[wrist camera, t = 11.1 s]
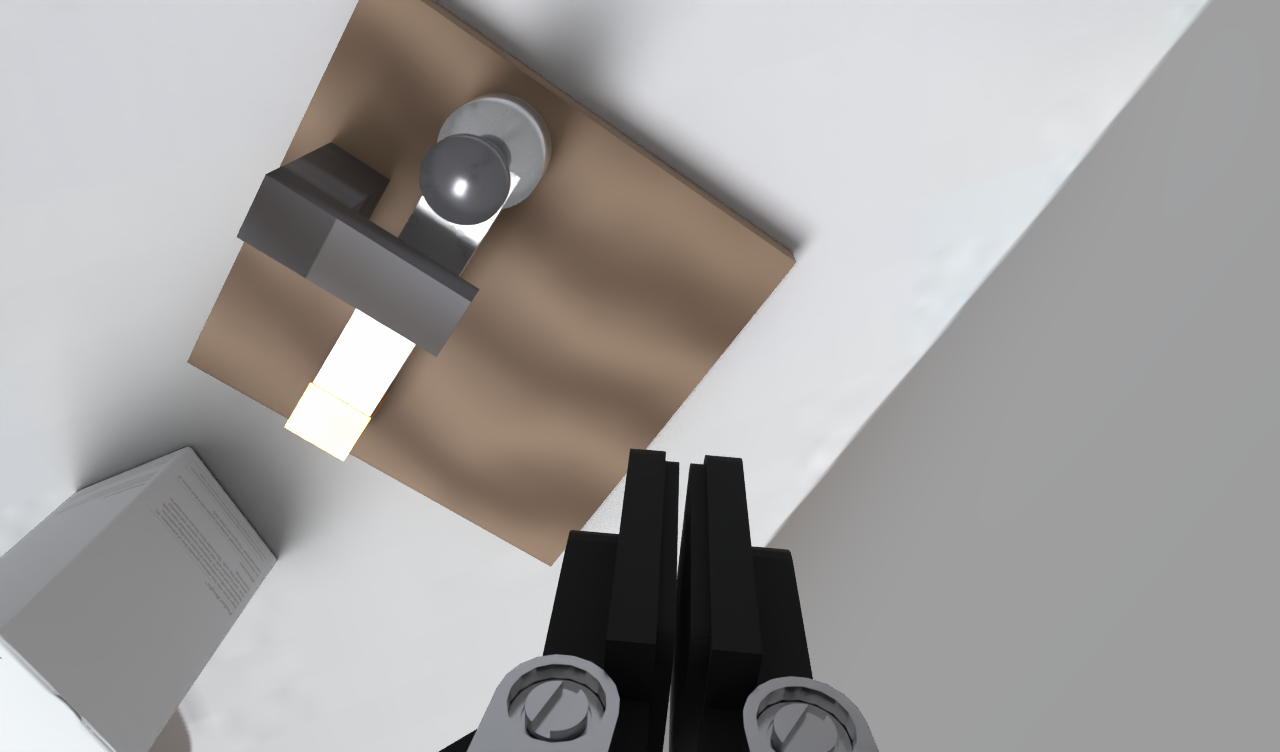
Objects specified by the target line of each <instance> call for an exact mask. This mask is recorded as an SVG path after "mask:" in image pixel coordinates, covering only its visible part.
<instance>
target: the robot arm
mask: <svg viewBox="0 0 1280 752" xmlns="http://www.w3.org/2000/svg"><path fill="white" fill-rule="evenodd" d="M665 458H666V452H665V451H654V450H643V449H632V448H630V453H629V461H628V469H627V477H626V485H625V492H624V500H623V508H622V516H621V524H620V532H619V534H610V533H599V532H588V531H577V530H570V532H569V536H568V540H567V545H566V549H565V554H564V559H563V563H562V568H561V573H560V577H559V582H558V587H557V591H556V596H555V601H554V605H553V610H552V615H551V619H550V624H549V629H548V633H547V638H546V643H545V647H544V652H543V656H541V657H536V658H533V659H531V660H528V661H526V662H524V663H521V664H519V665H518V666H517V667H515V668H514V669H513V670H511V671H510V672H509V673H507V674H506V675H505V677H504V678H503V680H502V681H501V683H500V684H499V685H498V687H497V688H496V691H495V693H494V695H493V697H492V699H491V701H490V703H489V705H488V708H487V710H486V712H485V714H484V716H483V718H482V720H481V722H480V725H479V727H478V729H476V730H475V731H473V732H471V733H469V734H468V735H466V736H464V737H463V738H461V739H459V740H458V741H456V742H454V743H452V744H451V745H449V746H447V747H446V748H444V749H442V750H441V751H439V752H662V751H663V743H664V735H665V726H666V718H667V710H668V702H669V693H670V685H671V696H670V730H669V752H879V750H878V748H877V745H876V743H875V741H874V738H873V736H872V733H871V731H870V728H869V726H868V724H867V722H866V720H865V718H864V717H863V715H862V714H861V712H860V710H859V708H858V707H857V706H856V705H855V704H854V703H853V702H852V701H851V700H850V699H849V698H847V697H846V696H845V695H844V694H843V693H841V692H839V691H838V690H836V689H834V688H833V687H831V686H829V685H828V684H825V683H822V682H819V681H816V680H813V677H812V671H811V666H810V659H809V654H808V648H807V642H806V636H805V631H804V624H803V618H802V613H801V607H800V601H799V595H798V590H797V583H796V577H795V572H794V566H793V560H792V556H791V552H790V551H789V550H785V549H774V548H763V547H752V546H751V539H750V529H749V519H748V510H747V500H746V491H745V481H744V471H743V462H742V459H741V458H732V457H721V456H710V455H705V459H704V465H703V464H692V463H691V464H690V469H689V477H688V486H687V495H686V504H685V512H684V521H683V530H682V539H681V547H680V556H679V565H678V573H677V540H678V496H679V462H670V461H665Z"/></svg>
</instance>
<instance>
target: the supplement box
mask: <svg viewBox="0 0 1280 752" xmlns="http://www.w3.org/2000/svg"><path fill="white" fill-rule="evenodd" d="M276 561H277V560H276V558H275V556H274V555H273V554H272V552H271V551H270V550H269V548H268V547H267V546H266V545H265V543H264V542H263V541H262V539H261V538H260V537H259V536H258V534H257V533H256V532H255V530H254V529H253V528H252V526H251V525H250V524H249V522H248V521H247V520H246V519H245V517H244V516H243V515H242V513H241V512H240V511H239V509H238V508H237V507H236V505H235V504H234V503H233V502H232V500H231V499H230V498H229V496H228V495H227V494H226V493H225V491H224V490H223V489H222V487H221V486H220V485H219V483H218V482H217V481H216V480H215V478H214V477H213V476H212V474H211V473H210V472H209V470H208V469H207V468H206V466H205V465H204V464H203V463H202V461H201V460H200V459H199V457H198V456H197V455H196V453H195V452H194V451H193V449H192V448H191V447H185V448H183V449H180V450H177V451H175V452H173V453H170V454H168V455H165V456H163V457H160V458H158V459H155V460H153V461H150V462H148V463H146V464H143V465H141V466H138V467H136V468H133V469H131V470H128V471H126V472H123V473H121V474H118V475H116V476H113V477H111V478H109V479H106V480H104V481H101V482H99V483H96V484H94V485H91V486H89V487H86V488H84V489H82V490H80V491H78V492H76V493H74V494H73V495H72V496H71V497H69V498H68V499H67V500H66V501H65V502H63V503H62V504H61V505H60V506H59V507H58V508H57V509H56V510H54V511H53V512H52V513H51V514H50V515H49V516H47V517H46V518H45V519H44V520H43V521H42V522H41V523H39V524H38V525H37V526H36V527H35V528H34V529H33V530H31V531H30V532H29V533H28V534H27V535H26V536H25V537H23V538H22V539H21V540H20V541H19V542H18V543H17V544H16V545H14V546H13V547H12V548H11V549H10V550H9V551H8V552H6V553H5V554H4V555H3V556H2V557H1V558H0V752H148V750H149V749H150V747H151V745H152V744H153V743H154V741H155V740H156V738H157V737H158V735H159V734H160V732H161V731H162V729H163V728H164V726H165V725H166V723H167V721H168V720H169V719H170V717H171V716H172V714H173V713H174V712H175V710H176V709H177V707H178V706H179V704H180V703H181V701H182V700H183V698H184V697H185V695H186V694H187V692H188V691H189V689H190V688H191V686H192V685H193V683H194V682H195V680H196V679H197V678H198V676H199V675H200V673H201V672H202V670H203V669H204V667H205V666H206V664H207V663H208V661H209V660H210V658H211V657H212V655H213V654H214V652H215V651H216V649H217V648H218V646H219V645H220V643H221V642H222V640H223V639H224V638H225V636H226V635H227V633H228V632H229V630H230V629H231V627H232V626H233V624H234V623H235V621H236V620H237V619H238V617H239V616H240V614H241V613H242V611H243V610H244V608H245V607H246V605H247V604H248V602H249V601H250V599H251V598H252V597H253V595H254V594H255V592H256V591H257V589H258V588H259V586H260V585H261V583H262V582H263V580H264V579H265V577H266V576H267V574H268V573H269V572H270V570H271V569H272V567H273V566H274V565H275V563H276Z"/></svg>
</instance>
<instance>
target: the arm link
mask: <svg viewBox="0 0 1280 752" xmlns="http://www.w3.org/2000/svg"><path fill="white" fill-rule="evenodd" d="M551 153H552V142H551V136H550V133H549V129H548V127H547V125H546V123H545V121H544V119H543V117H542V116H541V115H540V113H539V112H538V111H537V110H536V109H535V108H534V107H533V106H532V105H531V104H529V103H528V102H527V101H525V100H523V99H522V98H519V97H517V96H515V95H511V94H507V93H488V94H484V95H481V96H479V97H477V98H475V99H473V100H472V101H470V102H468V103H467V104H465V105H464V106H462V107H460V108H459V109H457V110H456V111H455V112H453V113H452V114H451V115H450V116H449V117H448V118H447V120H446V121H445V123H444V124H443V126H442V128H441V130H440V133H439V136H438V140H437V143H436V144H435V145H434V146H433V147H431V148H430V149H429V151H428V152H427V153H426V154H425V156H424V158H423V160H422V162H421V165H420V170H419V185H420V189H421V192H422V195H423V196H422V197H421V199H420V201H419V203H418V204H417V206H416V208H415V209H414V211H413V213H412V215H411V216H410V218H409V220H408V221H407V223H406V225H405V227H404V228H403V230H402V232H401V233H400V235H399V237H398V238H399V239H400V240H402V241H403V242H405V243H407V244H408V245H410V246H411V247H413V248H415V249H416V250H418V251H419V252H421V253H423V254H424V255H426V256H427V257H429V258H430V259H432V260H434V261H435V262H437V263H438V264H440V265H442V266H443V267H445V268H446V269H448V270H450V271H451V272H453V273H454V274H456V275H458V276H459V277H460V276H461V274H462V273H463V271H464V270H465V268H466V267H467V265H468V263H469V262H470V260H471V259H472V257H473V256H474V254H475V252H476V251H477V249H478V248H479V246H480V245H481V243H482V241H483V240H484V238H485V237H486V235H487V233H488V232H489V230H490V229H491V227H492V226H493V224H494V222H495V221H496V219H497V218H498V216H499V215H500V213H501V211H502V210H503V209H505V208H509V207H512V206H514V205H516V204H518V203H520V202H522V201H523V200H524V199H526V198H527V197H528V196H529V195H530V194H531V192H532V191H533V190H534V188H535V187H536V186H537V184H538V183H539V181H540V180H541V178H542V177H543V176H544V174H545V172H546V170H547V168H548V166H549V163H550V159H551ZM415 347H416V345H415V344H414V343H412V342H410V341H409V340H407V339H405V338H404V337H402V336H400V335H399V334H397V333H395V332H394V331H392V330H390V329H389V328H387V327H385V326H384V325H382V324H380V323H379V322H377V321H375V320H374V319H372V318H370V317H369V316H367V315H365V314H364V313H362V312H360V311H359V310H357V309H356V310H355V312H354V314H353V315H352V317H351V319H350V321H349V322H348V324H347V326H346V327H345V329H344V331H343V333H342V334H341V336H340V338H339V339H338V341H337V343H336V345H335V346H334V348H333V350H332V351H331V353H330V355H329V357H328V358H327V360H326V362H325V363H324V365H323V367H322V368H321V370H320V372H319V374H318V375H317V376H316V377H315V378H314V379H313V380H312V381H311V383H310V384H309V386H308V388H307V390H306V391H305V393H304V395H303V396H302V398H301V400H300V402H299V403H298V405H297V407H296V408H295V410H294V412H293V414H292V415H291V417H290V419H289V420H288V422H287V424H286V426H285V428H287V429H289V430H290V431H292V432H294V433H296V434H297V435H299V436H301V437H302V438H304V439H306V440H308V441H309V442H311V443H313V444H315V445H316V446H318V447H320V448H322V449H323V450H325V451H327V452H329V453H330V454H332V455H334V456H336V457H337V458H339V459H341V460H343V461H344V460H345V458H346V457H347V455H348V454H349V453H350V451H351V450H352V448H353V447H354V445H355V444H356V443H357V441H358V440H359V438H360V437H361V435H362V434H363V432H364V431H365V429H366V428H367V426H368V425H369V423H370V421H371V420H372V418H373V417H374V415H375V414H376V412H377V410H378V409H379V407H380V406H381V404H382V403H383V401H384V399H385V398H386V396H387V395H388V393H387V391H388V389H389V388H390V386H391V385H392V383H393V381H394V380H395V378H396V377H397V375H398V374H399V372H400V370H401V369H402V367H403V366H404V364H405V363H406V361H407V359H408V358H409V356H410V355H411V353H412V352H413V350H414V348H415Z"/></svg>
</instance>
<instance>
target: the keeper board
mask: <svg viewBox="0 0 1280 752" xmlns="http://www.w3.org/2000/svg"><path fill="white" fill-rule="evenodd" d="M488 93H507V94H511V95H515V96H517V97H519V98H522V99H523V100H525V101H527V102H528V103H529V104H531V105H532V106H533V107H534V108H535V109H536V110H537V111H538V112H539V113H540V115H541V116H542V117H543V119H544V121H545V123H546V125H547V127H548V129H549V133H550V136H551V142H552V153H551V159H550V163H549V166H548V168H547V170H546V172H545V174H544V176H543V177H542V178H541V180H540V181H539V183H538V184H537V186H536V187H535V188H534V190H533V191H532V192H531V194H530V195H529V196H528V197H527V198H526V199H524V200H523V201H522V202H520V203H518V204H516V205H514V206H512V207H509V208H505V209H503V210H502V211H501V213H500V215H499V216H498V218H497V219H496V221H495V222H494V224H493V226H492V227H491V229H490V230H489V232H488V233H487V235H486V237H485V238H484V240H483V241H482V243H481V245H480V246H479V248H478V249H477V251H476V252H475V254H474V256H473V257H472V259H471V260H470V262H469V263H468V265H467V267H466V268H465V270H464V271H463V273H462V274H461V276H460V277H459V276H458V275H456V274H454V273H453V272H451V271H450V270H448V269H446V268H445V267H443V266H442V265H440V264H438V263H437V262H435V261H434V260H432V259H430V258H429V257H427V256H426V255H424V254H423V253H421V252H419V251H418V250H416V249H415V248H413V247H411V246H410V245H408V244H407V243H405V242H403V241H402V240H400V239H399V238H398V237H399V235H400V233H401V232H402V230H403V228H404V227H405V225H406V223H407V221H408V220H409V218H410V216H411V215H412V213H413V211H414V209H415V208H416V206H417V204H418V203H419V201H420V199H421V197H422V196H423V195H422V192H421V189H420V185H419V170H420V165H421V162H422V160H423V158H424V156H425V154H426V153H427V152H428V151H429V149H430V148H431V147H433V146H434V145H435V144H436V143H437V140H438V136H439V133H440V130H441V128H442V126H443V124H444V123H445V121H446V120H447V118H448V117H449V116H450V115H451V114H452V113H453V112H455V111H456V110H457V109H459V108H460V107H462V106H464V105H465V104H467V103H468V102H470V101H472V100H473V99H475V98H477V97H479V96H481V95H484V94H488ZM237 237H238V238H239V239H241V240H242V241H244V243H243V246H242V248H241V250H240V252H239V254H238V256H237V258H236V260H235V262H234V265H233V267H232V269H231V271H230V273H229V275H228V277H227V279H226V281H225V283H224V286H223V288H222V290H221V292H220V294H219V296H218V298H217V300H216V302H215V305H214V307H213V309H212V311H211V313H210V315H209V317H208V319H207V321H206V323H205V326H204V328H203V330H202V332H201V334H200V336H199V338H198V340H197V342H196V345H195V347H194V349H193V351H192V353H191V355H190V357H189V359H188V361H187V362H188V363H189V364H191V365H193V366H195V367H197V368H198V369H200V370H202V371H204V372H205V373H207V374H209V375H211V376H213V377H214V378H216V379H218V380H220V381H221V382H223V383H225V384H227V385H229V386H230V387H232V388H234V389H236V390H238V391H239V392H241V393H243V394H245V395H246V396H248V397H250V398H252V399H254V400H255V401H257V402H259V403H261V404H262V405H264V406H266V407H268V408H270V409H271V410H273V411H275V412H277V413H278V414H280V415H282V416H284V417H286V418H287V419H290V417H291V415H292V414H293V412H294V410H295V408H296V407H297V405H298V403H299V402H300V400H301V398H302V396H303V395H304V393H305V391H306V390H307V388H308V386H309V384H310V383H311V381H312V380H313V379H314V378H315V377H316V376H317V375H318V374H319V372H320V370H321V368H322V367H323V365H324V363H325V362H326V360H327V358H328V357H329V355H330V353H331V351H332V350H333V348H334V346H335V345H336V343H337V341H338V339H339V338H340V336H341V334H342V333H343V331H344V329H345V327H346V326H347V324H348V322H349V321H350V319H351V317H352V315H353V314H354V312H355V310H356V309H357V310H359V311H360V312H362V313H364V314H365V315H367V316H369V317H370V318H372V319H374V320H375V321H377V322H379V323H380V324H382V325H384V326H385V327H387V328H389V329H390V330H392V331H394V332H395V333H397V334H399V335H400V336H402V337H404V338H405V339H407V340H409V341H410V342H412V343H414V344H415V345H416V347H415V348H414V350H413V352H412V353H411V355H410V356H409V358H408V359H407V361H406V363H405V364H404V366H403V367H402V369H401V370H400V372H399V374H398V375H397V377H396V378H395V380H394V381H393V383H392V385H391V386H390V388H389V389H388V391H387V393H388V395H387V396H386V398H385V399H384V401H383V403H382V404H381V406H380V407H379V409H378V410H377V412H376V414H375V415H374V417H373V418H372V420H371V421H370V423H369V425H368V426H367V428H366V429H365V431H364V432H363V434H362V435H361V437H360V438H359V440H358V441H357V443H356V444H355V445H354V447H353V448H352V450H351V451H350V454H351V455H353V456H355V457H357V458H359V459H360V460H362V461H364V462H366V463H367V464H369V465H371V466H373V467H375V468H376V469H378V470H380V471H382V472H383V473H385V474H387V475H389V476H391V477H392V478H394V479H396V480H398V481H399V482H401V483H403V484H405V485H407V486H408V487H410V488H412V489H414V490H415V491H417V492H419V493H421V494H423V495H424V496H426V497H428V498H430V499H432V500H433V501H435V502H437V503H439V504H440V505H442V506H444V507H446V508H448V509H449V510H451V511H453V512H455V513H456V514H458V515H460V516H462V517H464V518H465V519H467V520H469V521H471V522H472V523H474V524H476V525H478V526H480V527H481V528H483V529H485V530H487V531H488V532H490V533H492V534H494V535H496V536H497V537H499V538H501V539H503V540H504V541H506V542H508V543H510V544H512V545H513V546H515V547H517V548H519V549H521V550H522V551H524V552H526V553H528V554H529V555H531V556H533V557H535V558H537V559H538V560H540V561H542V562H544V563H545V564H547V565H549V566H552V565H553V563H554V562H555V561H556V560H557V558H558V557H559V556H560V555H561V553H562V552H563V551H564V550H565V548H566V545H567V540H568V536H569V532H570V530H577V531H580V530H581V529H582V527H583V526H584V525H585V524H586V522H587V521H588V520H589V519H590V517H591V516H592V515H593V514H594V512H595V511H596V510H597V509H598V508H599V506H600V505H601V504H602V503H603V501H604V500H605V499H606V498H607V496H608V495H609V494H610V493H611V491H612V490H613V489H614V488H615V486H616V485H617V484H618V483H619V481H620V480H621V479H622V478H623V476H624V475H625V474H626V473H627V469H628V461H629V453H630V448H632V449H643V450H645V449H646V448H647V447H648V445H649V444H650V443H651V442H652V441H653V439H654V438H655V437H656V436H657V434H658V433H659V432H660V431H661V429H662V428H663V427H664V426H665V424H666V423H667V422H668V421H669V419H670V418H671V417H672V416H673V414H674V413H675V412H676V411H677V409H678V408H679V407H680V406H681V405H682V403H683V402H684V401H685V400H686V398H687V397H688V396H689V395H690V393H691V392H692V391H693V390H694V388H695V387H696V386H697V385H698V383H699V382H700V381H701V380H702V378H703V377H704V376H705V375H706V374H707V372H708V371H709V370H710V369H711V367H712V366H713V365H714V364H715V362H716V361H717V360H718V359H719V357H720V356H721V355H722V354H723V352H724V351H725V350H726V349H727V347H728V346H729V345H730V344H731V342H732V341H733V340H734V339H735V338H736V336H737V335H738V334H739V333H740V331H741V330H742V329H743V328H744V326H745V325H746V324H747V323H748V321H749V320H750V319H751V318H752V316H753V315H754V314H755V313H756V311H757V310H758V309H759V308H760V307H761V305H762V304H763V303H764V302H765V300H766V299H767V298H768V297H769V295H770V294H771V293H772V292H773V290H774V289H775V288H776V287H777V285H778V284H779V283H780V282H781V280H782V279H783V278H784V277H785V275H786V274H787V273H788V272H789V271H790V269H791V268H792V267H793V266H794V264H795V263H796V261H795V258H794V255H793V252H791V251H790V250H788V249H787V248H785V247H784V246H783V245H781V244H780V243H778V242H777V241H775V240H774V239H773V238H771V237H770V236H768V235H767V234H765V233H764V232H763V231H761V230H760V229H758V228H757V227H755V226H754V225H753V224H751V223H750V222H748V221H747V220H745V219H744V218H743V217H741V216H740V215H738V214H737V213H735V212H734V211H733V210H731V209H730V208H728V207H727V206H725V205H724V204H723V203H721V202H720V201H718V200H717V199H715V198H714V197H713V196H711V195H710V194H708V193H707V192H705V191H704V190H703V189H701V188H700V187H698V186H697V185H695V184H694V183H693V182H691V181H690V180H688V179H687V178H685V177H684V176H683V175H681V174H680V173H678V172H677V171H675V170H674V169H673V168H671V167H670V166H668V165H667V164H665V163H664V162H663V161H661V160H660V159H658V158H657V157H655V156H654V155H653V154H651V153H650V152H648V151H647V150H645V149H644V148H643V147H641V146H640V145H638V144H637V143H635V142H634V141H633V140H631V139H630V138H628V137H627V136H625V135H624V134H623V133H621V132H620V131H618V130H617V129H615V128H614V127H613V126H611V125H610V124H608V123H607V122H605V121H604V120H603V119H601V118H600V117H598V116H597V115H595V114H594V113H593V112H591V111H590V110H588V109H587V108H586V107H584V106H583V105H581V104H580V103H578V102H577V101H576V100H574V99H573V98H571V97H570V96H568V95H567V94H566V93H564V92H563V91H561V90H560V89H558V88H557V87H556V86H554V85H553V84H551V83H550V82H548V81H547V80H546V79H544V78H543V77H541V76H540V75H538V74H537V73H536V72H534V71H533V70H531V69H530V68H528V67H527V66H526V65H524V64H523V63H521V62H520V61H518V60H517V59H516V58H514V57H513V56H511V55H510V54H508V53H507V52H506V51H504V50H503V49H501V48H500V47H498V46H497V45H496V44H494V43H493V42H491V41H490V40H488V39H487V38H486V37H484V36H483V35H481V34H480V33H478V32H477V31H476V30H474V29H473V28H471V27H470V26H468V25H467V24H466V23H464V22H463V21H461V20H460V19H458V18H457V17H456V16H454V15H453V14H451V13H450V12H448V11H447V10H446V9H444V8H443V7H441V6H440V5H438V4H437V3H436V2H434V1H433V0H359V1H358V3H357V5H356V8H355V10H354V12H353V14H352V16H351V18H350V20H349V22H348V24H347V27H346V29H345V31H344V33H343V35H342V37H341V39H340V41H339V43H338V45H337V48H336V50H335V52H334V54H333V56H332V58H331V60H330V62H329V64H328V67H327V69H326V71H325V73H324V75H323V77H322V79H321V81H320V83H319V85H318V88H317V90H316V92H315V94H314V96H313V98H312V100H311V102H310V104H309V107H308V109H307V111H306V113H305V115H304V117H303V119H302V121H301V123H300V126H299V128H298V130H297V132H296V134H295V136H294V138H293V140H292V142H291V144H290V147H289V149H288V151H287V153H286V155H285V157H284V159H283V161H282V163H281V166H280V168H278V169H276V170H274V171H272V172H270V173H268V174H266V175H265V177H264V180H263V182H262V184H261V186H260V188H259V190H258V192H257V194H256V197H255V199H254V201H253V203H252V205H251V207H250V209H249V212H248V214H247V216H246V218H245V220H244V222H243V224H242V226H241V229H240V231H239V233H238V235H237Z"/></svg>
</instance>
